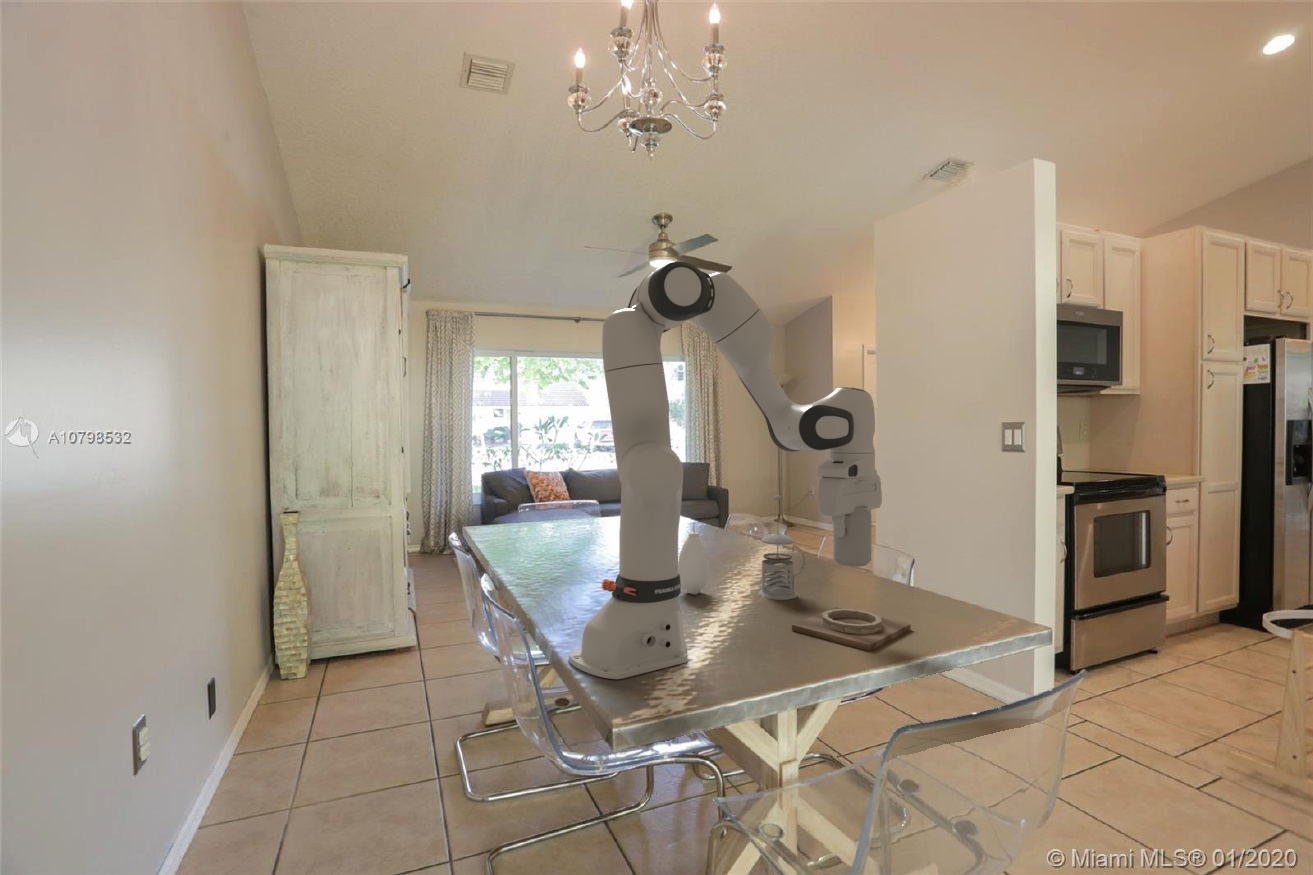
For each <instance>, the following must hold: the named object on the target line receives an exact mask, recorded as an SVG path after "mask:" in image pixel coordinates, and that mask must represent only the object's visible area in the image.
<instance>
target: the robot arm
mask: <svg viewBox="0 0 1313 875" xmlns="http://www.w3.org/2000/svg"><path fill="white" fill-rule="evenodd" d="M687 321H690V322H692V323H695V324H697V325H698V326H699V327H701V329H703V330H704V331H705V332H706V334H707V335H708V337H709V338H710V339H711V341H712V342H713V343H714V345H715V346H716V348H717V349H718V350H719V352H720V353H721V354H722V355H723V356H724V358H725V359H726V360H727V362H728V363H729V364H730V365H731V367H732V369H733V370H734V371H735V373H736V375H737V376H738V378H739V380H740V381H741V383H742V384H743V386H744V388H745V389H746V391H747V392H748V394H749V396H750V397H751V398H752V400H753V401H754V402H755V404H756V406H757V407H758V408H759V410H760V412H761V413H762V415H763V417H764V419H765V422H766V426H767V429H768V432H769V436H770V438H771V440H772V442H773V443H774V444H775V445H776V447H778V448H779V449H781V450H783V451H785V452H791V453H793V452H794V453H795V452H801V451H802V452H823V451H826V450H829V455H830V456H829V457H828V458H827V459H826V460H825V461H824V462H823V463H821V464H820V465H818V466H817V471H816V472H817V476H818V477H819V478H820V479H819V481H818V488H817V489H818V492H817V493H818V509H819V512H820V514H821V515H822V516H829V517H831V521H832V523H834V526H835V527H836V536H837V537H844V536H847V528H845V525H844V520H845V514H850V513H853V512H854V511H855V508H865V506H867V507H868V508H867V510H868V511H869V512H870V514H871V515H872V510H874V509H879V508H881V506H882V503H883V496H882V495H883V494H882V493H883V492H882V482H881V477H880V475H879V474H878V471H877V470H876V450H875V445H874V436H875V433H876V417H875V416H876V414H875V413H876V412H875V404H874V401H873V398H872V396H871V393H869V392H868V391H866V390H864V389H861V388H856V387H848V386H847V387H846V386H845V387H844V386H842V387H841V386H840V387H836V388H834V389H833V391H832V392H831V393H829V394H828V395H826V396H825V397H823V398H821V399H819V400H816V401H814V402H812V403H807V404H798V403H796V402H794V401H793V400H792V399H790V398H789V397H788V395H787V394H786V393H785V391H784V389H783V388H782V386H781V385H780V383H779V381H778V380H777V379H776V377H775V375H774V374H773V372H772V370H771V366H770V359H771V356H772V354H773V353H774V349H775V346H776V340H777V339H776V333H775V330H774V328H773V326H772V324H771V322H770V320H769V319H768V317H767V315H766V314H765V312H764V311H763V310H762V309H761V308H760V306H759V305H758V303H757V302H756V301H755V300H754V299H753V297H752V296H751V295H750V294H749V293H748V292H747V291H746V289H745V288H743V287H742V285H741V284H739V282H737V280H735V279H734V278H733V277H732V276H731V275H729V274H727V273H725V272H714V273H710V274H709V273H706V272H704V271H703V270H701V269H699V268H698V267H696V266H695V265H693V264H692V263H689V262H687V261H682V260H673V261H669V262H666V263H663V264H661V265H659V267H657V268H656V269H655V270H654V271H652V272H650V273H649V274H647V275H646V276H645V278H643V279H642V281H641V282H640V283H639V285H637V287H636V288H635V290H634V291H633V292H632V295H631V297H630V300H629V302H628V305H627V308H622V309H619V310H615V311H613V312H612V313H611V314H609V315H607V317H606V318H605V320H604V322H603V324H602V336H601V337H602V339H601V341H602V342H601V344H602V350H601V351H602V365H603V372H604V378H605V384H606V386H605V387H606V392H607V399H608V406H609V411H610V412H609V413H610V419H611V420H610V421H611V428H612V429H611V430H612V437H613V439H612V440H613V444H614V446H613V447H614V451H615V461H616V468H617V476H618V479H619V482H620V485H621V486H620V490H621V491H620V494H621V495H620V519H619V520H620V522H619V536H618V538H619V542H618V543H619V553H618V554H619V555H618V556H619V565H618V566H619V569H618V570H619V573H618V574H617V576H616V578H615V581H614V580H610V579H608V578H605V579H603V580H602V582H601V585H600V586H601V587H600V588H601V589H602V590H603V591H608V592H610V593H611V597H610V599H608V600H607V602H606V603H605V604H604V605H603V606H602V607H601V608H600V609H599V611H598V612H597V613H596V614H595V615H594V616H593V617H592V618H591V619H590V620H589V621H588V622H587V623H586V625H585V626H584V630H583V633H582V639H581V641H582V642H581V647H580V648H577V649H575V650H574V651H572V652H569V654H568V661H569V662H570V664H571V665H572V666H573V667H575V668H576V669H578V670H580V671H583V672H584V673H587V674H589V675H593V676H595V677H599V678H604V679H609V680H610V679H611V680H621V679H622V680H623V679H626V678H630V677H633V676H638V675H641V674H645V673H650V672H654V671H656V670H657V671H658V670H661V669H665V668H670V667H672V666H676V665H681V664H685V663H688V660H689V658H688V654H687V651H688V648H687V644H686V641H685V636H684V635H685V634H684V628H683V619H682V613H681V607H680V601H679V600H680V598H679V596H680V595H681V593H682V592H681V589H682V588H681V586H682V584H681V582H680V574H679V573H678V562H679V530H680V522H681V521H680V520H681V511H682V510H681V509H682V502H683V501H682V498H683V485H684V484H683V482H684V469H683V468H684V467H683V464H682V460H681V459H680V457H679V456H678V454H677V453H676V452H675V451H674V449H672V442H671V441H672V440H671V427H670V403H669V396H668V389H667V381H666V377H665V376H666V375H665V368H664V363H663V362H664V361H663V356H662V351H661V341H662V340H661V339H662V337H663V336H662V335H663V334H664V333H666V332H668V331H669V330H671V329H674V328H677V327H680V326H681V325H683V324H685V323H686V322H687Z"/></svg>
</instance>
